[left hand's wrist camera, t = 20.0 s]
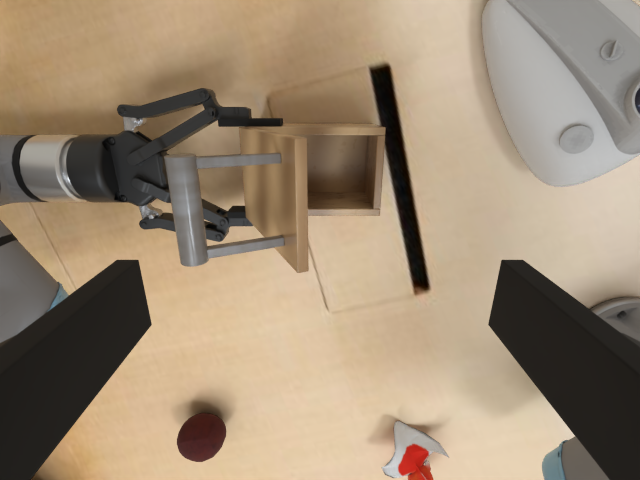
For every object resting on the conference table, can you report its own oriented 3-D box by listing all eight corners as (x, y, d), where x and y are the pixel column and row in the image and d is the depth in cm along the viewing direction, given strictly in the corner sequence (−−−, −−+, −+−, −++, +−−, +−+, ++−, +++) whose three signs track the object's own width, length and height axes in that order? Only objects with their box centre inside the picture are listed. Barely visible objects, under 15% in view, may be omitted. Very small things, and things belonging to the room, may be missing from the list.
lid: (307, 138, 22) (163, 142, 18) (308, 271, 25) (187, 296, 22) (247, 127, 35) (156, 128, 31) (253, 216, 38) (171, 226, 35)
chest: (373, 123, 43) (385, 127, 35) (369, 196, 47) (379, 215, 38) (259, 123, 43) (244, 126, 35) (263, 196, 47) (250, 215, 38)
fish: (379, 506, 62) (407, 545, 53) (363, 417, 63) (388, 440, 54) (430, 485, 65) (465, 519, 56) (414, 401, 67) (446, 420, 57)
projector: (686, -21, 38) (892, -95, 24) (609, 184, 46) (731, 216, 32) (488, -39, 37) (585, -124, 24) (445, 172, 45) (500, 200, 32)
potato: (180, 407, 60) (163, 444, 53) (223, 400, 59) (211, 436, 53) (195, 437, 62) (180, 476, 56) (236, 430, 62) (225, 469, 55)
